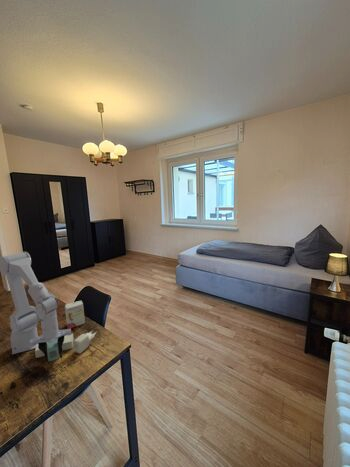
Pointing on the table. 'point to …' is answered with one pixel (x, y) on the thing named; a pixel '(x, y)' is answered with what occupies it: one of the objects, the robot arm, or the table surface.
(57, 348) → the grey-green boxy piece
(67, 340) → the block
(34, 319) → the robot arm
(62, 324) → the table surface
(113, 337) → the table surface
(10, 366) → the table surface
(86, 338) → the power adapter
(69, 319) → the ink box
